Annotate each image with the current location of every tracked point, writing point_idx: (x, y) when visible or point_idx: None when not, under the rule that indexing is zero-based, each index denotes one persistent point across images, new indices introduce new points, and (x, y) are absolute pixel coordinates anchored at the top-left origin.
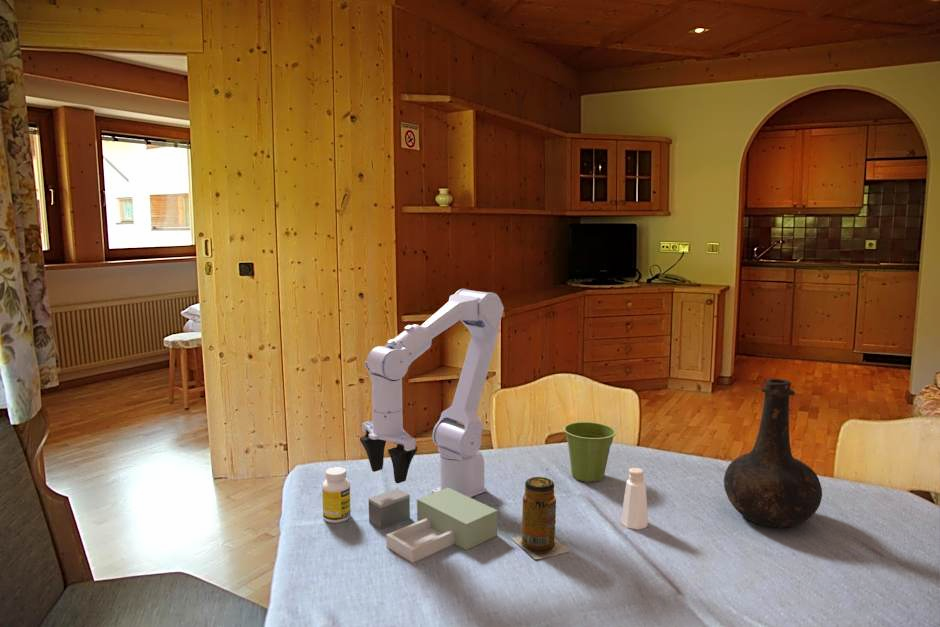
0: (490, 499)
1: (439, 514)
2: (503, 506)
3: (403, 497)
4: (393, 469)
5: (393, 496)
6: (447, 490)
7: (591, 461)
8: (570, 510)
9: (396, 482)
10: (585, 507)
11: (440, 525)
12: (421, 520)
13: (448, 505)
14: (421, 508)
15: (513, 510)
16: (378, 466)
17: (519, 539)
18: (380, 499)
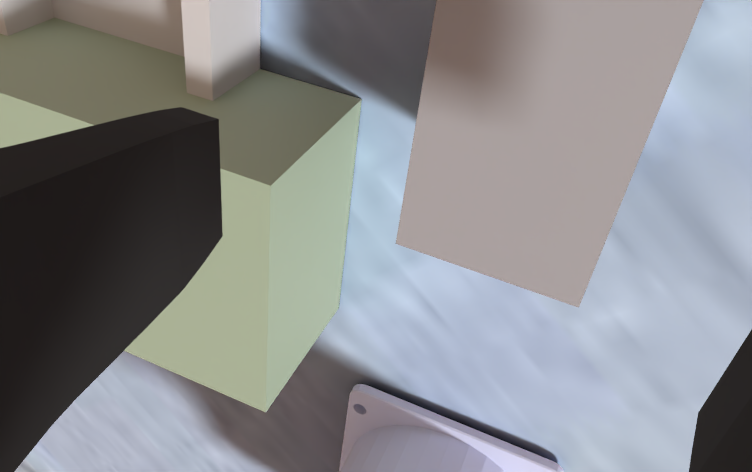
0: (277, 453)
1: (55, 91)
2: (197, 412)
3: (410, 183)
4: (34, 178)
5: (486, 147)
6: (236, 377)
7: None
8: (45, 435)
9: (188, 113)
10: (39, 460)
11: (102, 59)
12: (204, 37)
13: None
14: (251, 140)
15: (148, 392)
16: (726, 415)
17: None
18: (561, 16)
